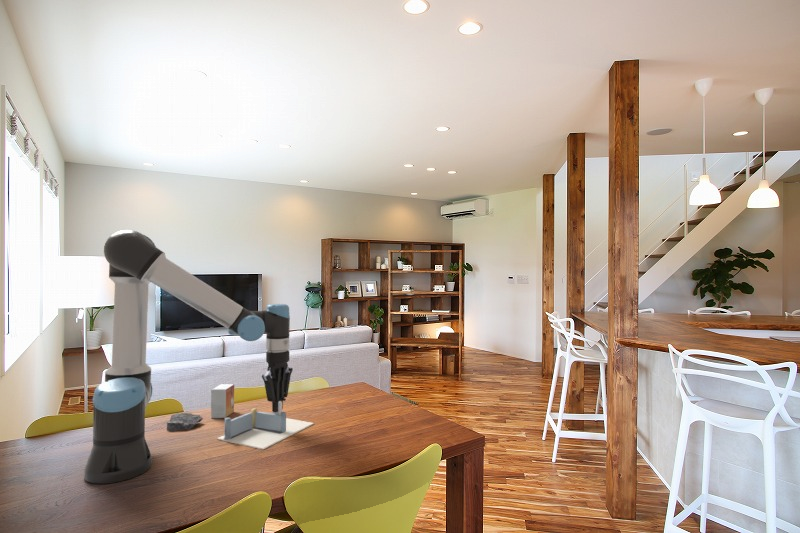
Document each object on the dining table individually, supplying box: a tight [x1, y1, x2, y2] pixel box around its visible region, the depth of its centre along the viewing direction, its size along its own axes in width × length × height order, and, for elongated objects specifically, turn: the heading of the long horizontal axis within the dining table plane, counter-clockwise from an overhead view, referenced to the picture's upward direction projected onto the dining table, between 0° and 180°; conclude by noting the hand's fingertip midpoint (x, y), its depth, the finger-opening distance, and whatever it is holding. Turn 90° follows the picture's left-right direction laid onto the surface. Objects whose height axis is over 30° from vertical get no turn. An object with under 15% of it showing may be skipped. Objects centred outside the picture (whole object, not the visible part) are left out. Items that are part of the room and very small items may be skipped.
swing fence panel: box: [251, 407, 287, 432], centre depth 147 cm, size 14×2×6 cm, turn 68°
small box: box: [210, 383, 235, 419], centre depth 164 cm, size 8×6×10 cm
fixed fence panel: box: [224, 412, 252, 440], centre depth 143 cm, size 11×2×7 cm, turn 155°
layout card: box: [216, 417, 314, 451], centre depth 147 cm, size 25×19×1 cm
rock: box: [166, 412, 203, 432], centre depth 151 cm, size 8×10×4 cm
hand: (277, 420), depth 148 cm, fingers closed
